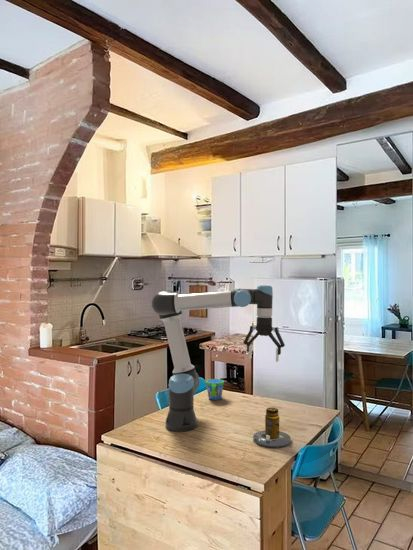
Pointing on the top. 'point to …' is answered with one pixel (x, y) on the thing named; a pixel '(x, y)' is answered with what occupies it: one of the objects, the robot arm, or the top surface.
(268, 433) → the condiment
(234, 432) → the top surface
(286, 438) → the grey round disc
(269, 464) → the top surface
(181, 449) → the top surface
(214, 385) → the snack cup
